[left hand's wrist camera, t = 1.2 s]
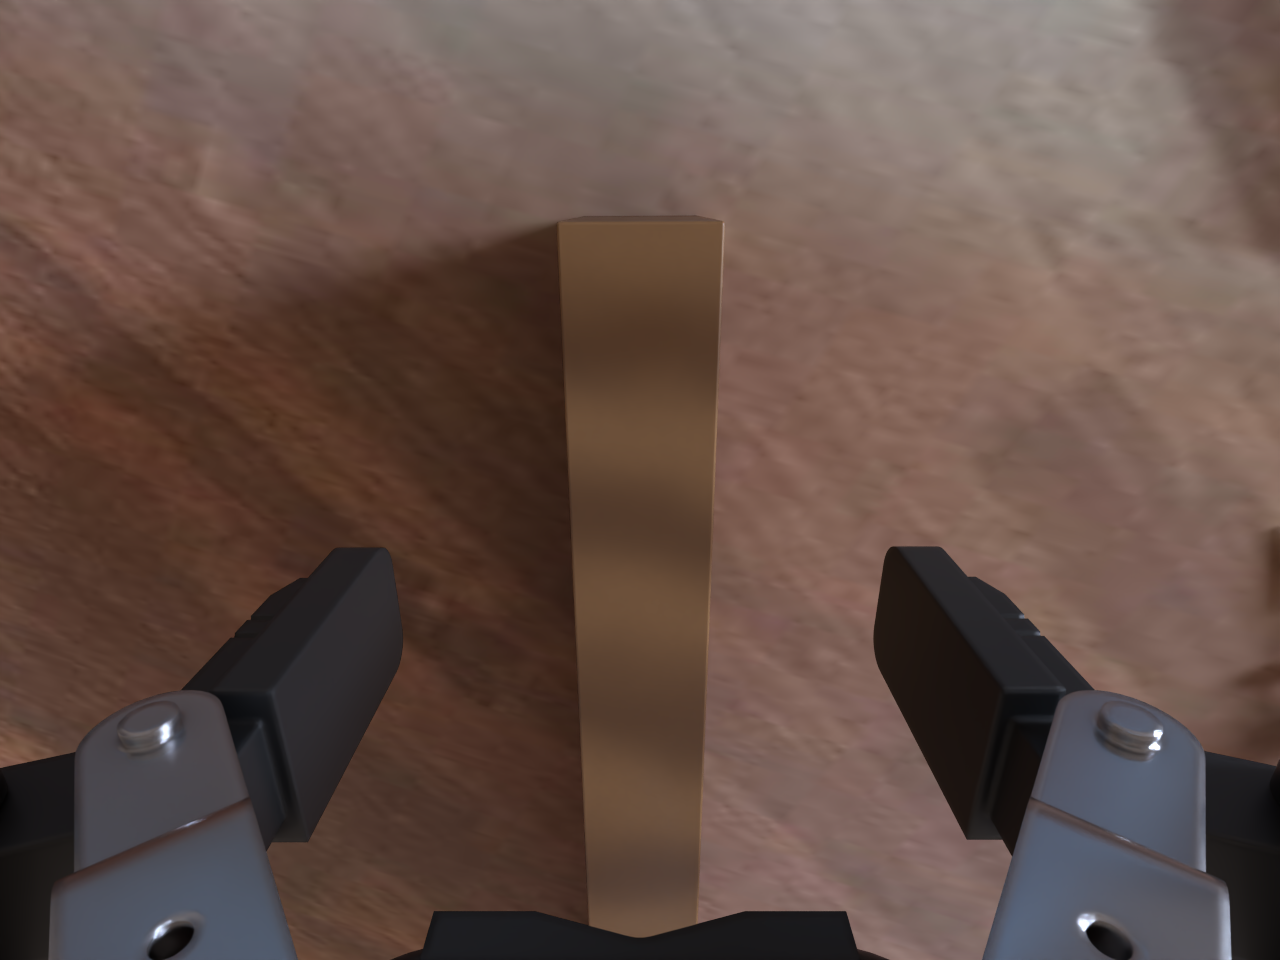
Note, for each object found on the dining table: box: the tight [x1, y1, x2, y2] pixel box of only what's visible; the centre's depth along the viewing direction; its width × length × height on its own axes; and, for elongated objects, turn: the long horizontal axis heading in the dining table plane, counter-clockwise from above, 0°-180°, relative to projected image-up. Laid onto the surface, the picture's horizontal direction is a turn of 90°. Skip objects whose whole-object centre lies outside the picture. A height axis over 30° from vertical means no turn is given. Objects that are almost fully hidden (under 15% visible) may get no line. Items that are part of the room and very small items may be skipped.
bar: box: [556, 216, 725, 937], centre depth 33 cm, size 57×4×9 cm, turn 0°
